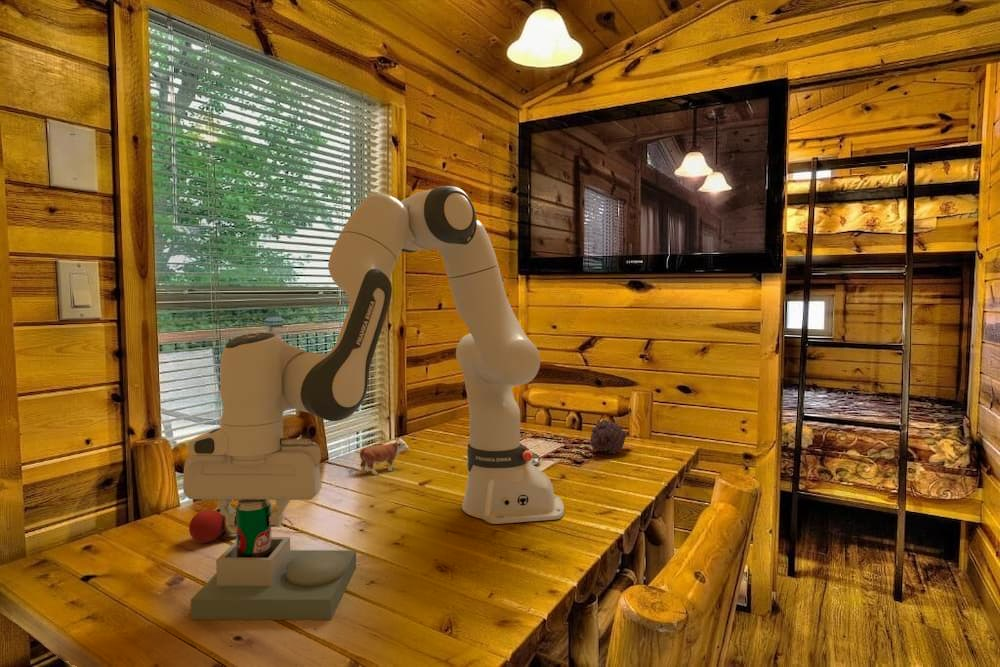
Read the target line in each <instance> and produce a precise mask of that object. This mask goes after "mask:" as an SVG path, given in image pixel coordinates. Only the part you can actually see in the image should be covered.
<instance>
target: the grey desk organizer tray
mask: <svg viewBox="0 0 1000 667" xmlns="http://www.w3.org/2000/svg"><path fill="white" fill-rule="evenodd" d="M215 562H216V564H215V566H216V570H215V571H216V573H215V574H214V575H212V577H211V578H210V579H209V580H208V581H207V582H206V583H205V584H204V585H203V586H202V587H201V589H199V590H198V591H197V593H195V595H194V596H192V597H191V598H190V618H191V620H192V621H193V620H195V621H196V620H198V621H199V620H202V621H203V620H206V621H207V620H208V621H209V620H210V621H211V620H212V621H213V620H215V621H216V620H217V621H218V620H220V621H221V620H226V621H227V620H228V621H229V620H231V621H232V620H233V621H235V620H236V621H237V620H243V621H245V620H246V621H248V620H252V621H253V620H255V621H258V620H259V621H260V620H261V621H262V620H267V621H268V620H269V621H271V620H274V621H275V620H277V621H279V620H280V621H281V620H282V621H283V620H284V621H285V620H286V621H287V620H288V621H290V620H292V621H293V620H295V621H297V620H299V621H300V620H302V621H303V620H309V621H310V620H313V621H316V620H317V621H319V620H320V621H325V620H326V621H327V620H332V618H333V617H334V615H335V613H336V610H337V608H338V606H339V605H340V602H341V600H342V598H343V597H344V596H343V595H344V593H345V591H346V589H347V587H348V585H349V583H350V581H351V579H352V577H353V575H354V573H355V571H356V569H357V550H354V549H353V550H350V549H349V550H348V549H346V550H345V549H344V550H339V549H338V550H337V549H336V550H331V549H330V550H328V549H327V550H326V549H325V550H321V549H320V550H319V549H318V550H314V549H309V550H307V549H306V550H303V549H302V550H301V549H299V550H298V549H296V550H295V549H293V550H292V549H291V537H289V536H272V554H271V555H270V556H269V557H268V558H237V543H236V540H235V541H234V542H233V543H232V544H231V545H229V547H228V548H226V550H225V551H224V552H223V553H222V554H221V555H219V557H218V558H217V559H215Z"/></svg>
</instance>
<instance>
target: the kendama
mask: <svg viewBox="0 0 1000 667" xmlns="http://www.w3.org/2000/svg"><path fill="white" fill-rule="evenodd" d="M279 507H280V506H276V503H275V504H271V515H272V513H273V512H277V511H278V509H279ZM233 510H234V512H236V509H233ZM283 514H284V512H283V513H282V515H283ZM188 525H189V527H188V532H189V534H190V536H191V538H192V539H193V540H194V541H195V542H196V543H198V544H206V543H207V544H208V543H211V542H213V541H215V540H217V539H218V538H219V537H221V536H222V535H223V534H225V533H228V534H229V535H236V526H235V527H226V516H224V515H223V513H222V512H221V510H220V509H219V507H218V506H216V508H214V509H207V508H206V509H203V510H200V511H199V512H198V513H197V512H196V514H194V516H193V517H192V518H191V520H190V522H189V524H188Z"/></svg>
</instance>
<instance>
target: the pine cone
mask: <svg viewBox="0 0 1000 667" xmlns="http://www.w3.org/2000/svg"><path fill="white" fill-rule="evenodd" d="M629 435H630V431H627V430H623V428H622V427H621V426H620V425H618V423H616V422H613V421H612V420H606V419H604V420H602V421H601V422H599V421H598V422H596V424H595V427H593V428H592V429H591V434H590V438H589V440H590V441H589V443H590V445H591V447H592V448H593V450H594V451H595V450H596V451H599V452H605V453H608V454H616V453H617V452H618V453H620V452H621V451H622V449H623V447H624V445H625V440H626V438H627V437H628V436H629Z"/></svg>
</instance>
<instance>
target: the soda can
mask: <svg viewBox="0 0 1000 667" xmlns="http://www.w3.org/2000/svg"><path fill="white" fill-rule="evenodd" d="M237 502H238V503H237V504H236V507H235V510H236V534H235V535H236V540H235V541H236V543H237V558H268V557H269V556H270V555H271V554H272V537H273V536H272V535H273V534H272V527H270V526H269V523H270V521H269V516H270V515H271V505H272V503H271V500H237Z"/></svg>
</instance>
